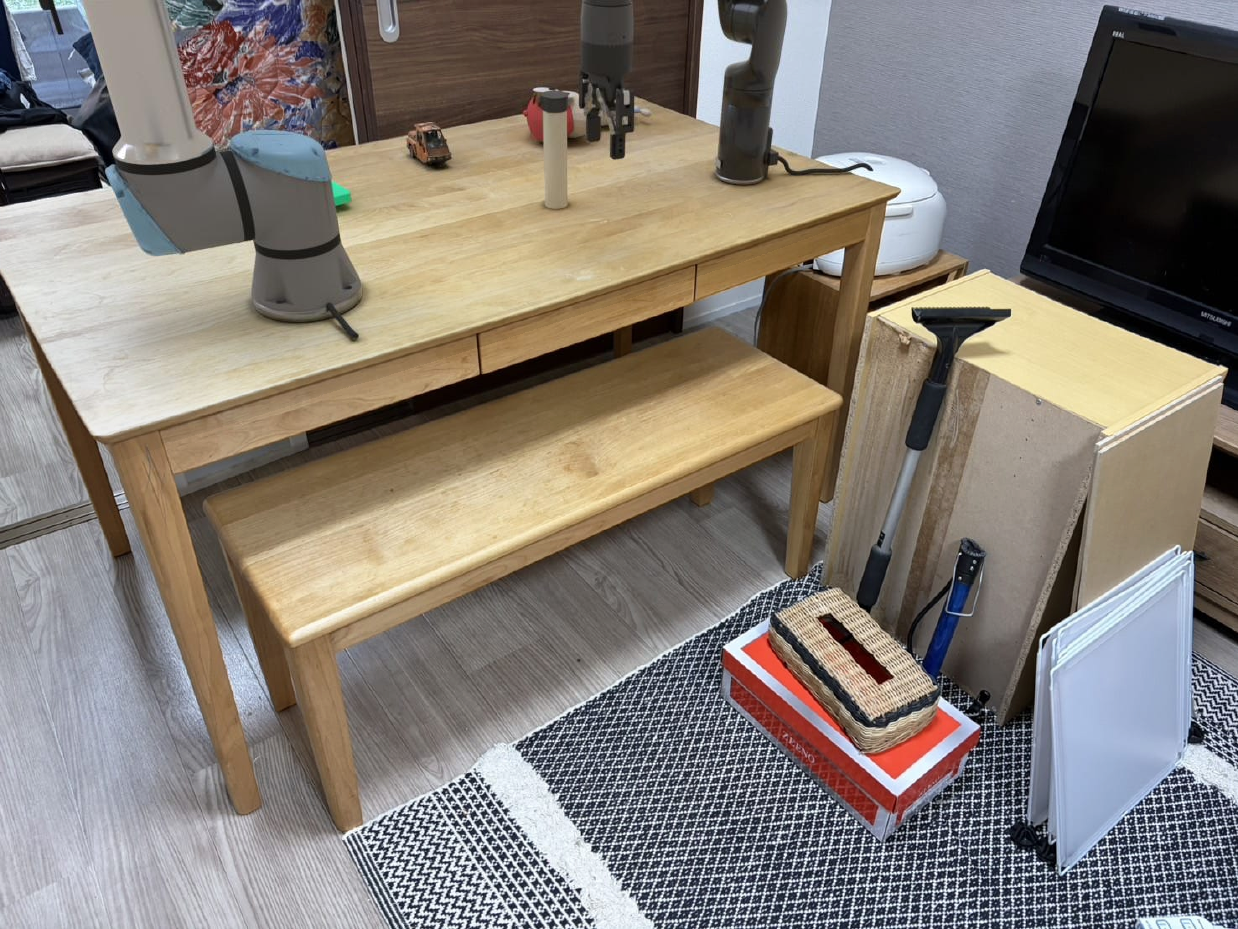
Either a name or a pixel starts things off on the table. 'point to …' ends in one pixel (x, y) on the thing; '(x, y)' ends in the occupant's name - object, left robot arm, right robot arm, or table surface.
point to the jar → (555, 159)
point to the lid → (554, 101)
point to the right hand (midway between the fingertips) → (604, 149)
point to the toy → (574, 115)
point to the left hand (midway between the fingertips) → (108, 29)
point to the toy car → (428, 144)
